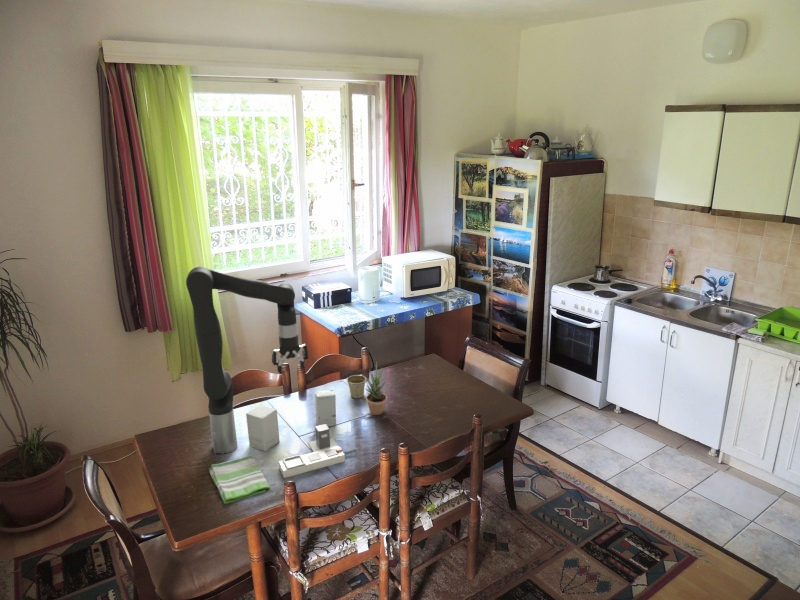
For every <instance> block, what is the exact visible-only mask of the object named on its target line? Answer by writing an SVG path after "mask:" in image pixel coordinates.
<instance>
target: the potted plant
mask: <svg viewBox="0 0 800 600" xmlns="http://www.w3.org/2000/svg"><path fill="white" fill-rule="evenodd" d="M371 371H372V370H369V374H370V379H371V382H370V380H369V379H368V378H366V382H367V383H368V384H367V385H366V387H367V388H366V387H364V390H366V391H367V395H366V397H365V402H366V403H367V405H368V409H369V413H370V414H371V415H374V416H378V415H382V414H383V412H384V409H385V406H386V403H387V401H388V396H387V395H386V394H384V393H383V390H382V389H383V388H384V386H385V384H386V381H387V380H385V381H384V382H383V378H382V374H383V371H384V369H383V368H381V369H380V372H379V373H378V362H377V361H376V362H375V377H374V374H373V372H371ZM382 382H383V383H382ZM381 384H382V385H381Z"/></svg>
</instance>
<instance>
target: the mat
mask: <svg viewBox="0 0 800 600" xmlns="http://www.w3.org/2000/svg"><path fill="white" fill-rule="evenodd" d="M307 445H308V446H309V448H310V449H311V450H312V453H313V452H317V451H320V450H324V449H328V448H332V447H336V446H339V445H338V444H337V443H336V441H335V439H333V436H331V435H330V447H326V448H323V449H319V447H318V446H317V444H316V439H315V440H311V441H307Z"/></svg>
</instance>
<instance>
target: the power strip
mask: <svg viewBox="0 0 800 600" xmlns="http://www.w3.org/2000/svg"><path fill="white" fill-rule="evenodd" d="M355 452H357V449H356V448H355V449H351V450H347V451H344V452H343V449H342V447H340V446H339V445H338V446H336V447H332V448H328V449H324V450H320V451H317V452H313V451H312V452H309V453H307V454H296V455H293V456H289V457H285V458H282V460H278V467H279V470H280V473H281V474H282V477H283V479H286V478H289V477H293V476H296V475H300V474H304V473H307V472H311V471H315V470H318V469H322V468H325V467H329V466H332V465H336V464H339V463H340V464H341V463H343V462H345V461H346V457H345V455H348V454H352V453H355Z"/></svg>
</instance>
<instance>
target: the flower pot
mask: <svg viewBox="0 0 800 600" xmlns="http://www.w3.org/2000/svg"><path fill="white" fill-rule="evenodd" d="M346 382H347V384H348V387H349V392H350V397H352V398H354V399H360V398H362V397H364V396H365V388H366V387H365V385H366V382H367V377H366V376H365V375H360V374H354V375H350V376H349V377H348V376H347V378H346Z"/></svg>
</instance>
